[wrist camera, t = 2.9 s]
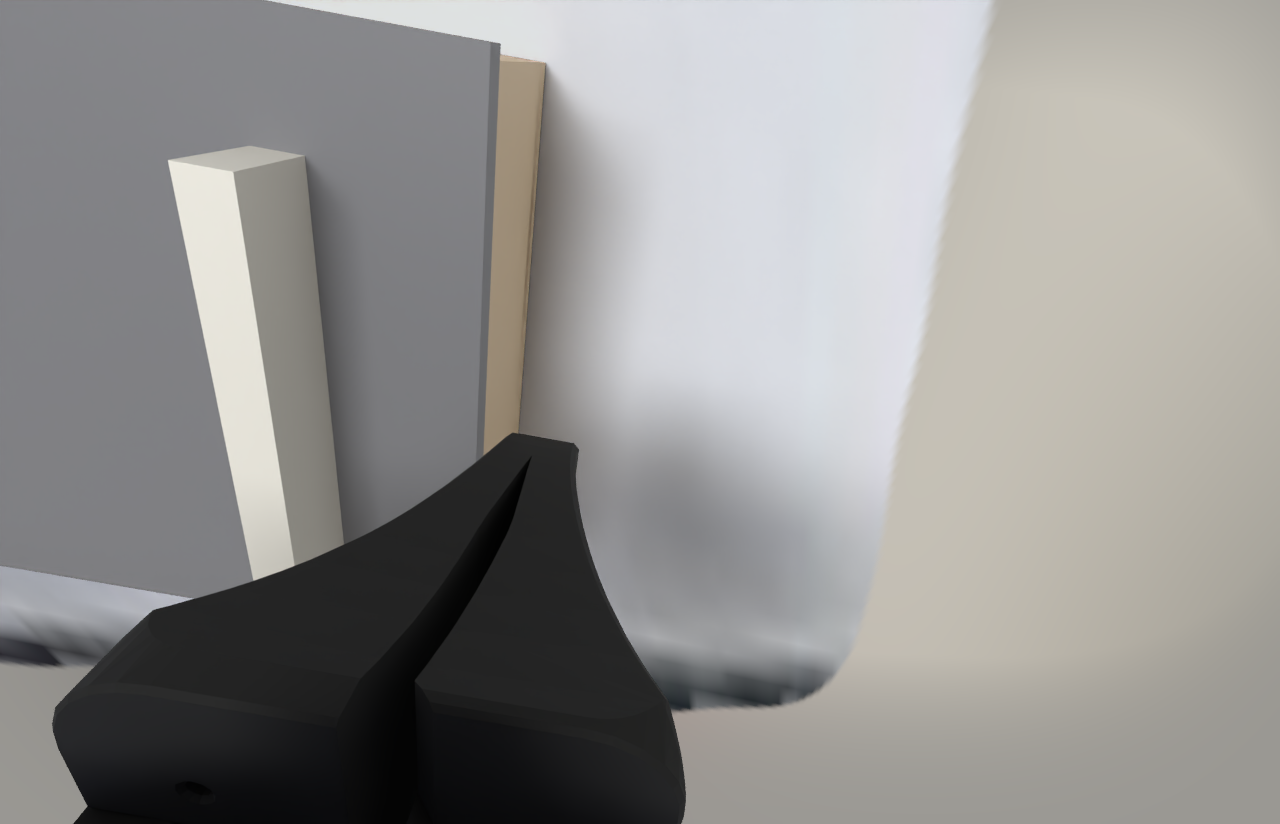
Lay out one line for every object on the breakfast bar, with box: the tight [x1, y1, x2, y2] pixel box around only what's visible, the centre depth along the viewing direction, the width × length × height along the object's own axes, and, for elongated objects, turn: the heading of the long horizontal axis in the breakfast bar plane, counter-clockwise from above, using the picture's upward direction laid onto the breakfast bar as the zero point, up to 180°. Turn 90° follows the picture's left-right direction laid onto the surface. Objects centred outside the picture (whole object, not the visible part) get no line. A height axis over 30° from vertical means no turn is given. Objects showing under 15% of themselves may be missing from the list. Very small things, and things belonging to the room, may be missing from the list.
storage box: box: [483, 55, 545, 456], centre depth 17 cm, size 14×14×5 cm
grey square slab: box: [0, 0, 501, 599], centre depth 14 cm, size 15×15×4 cm
